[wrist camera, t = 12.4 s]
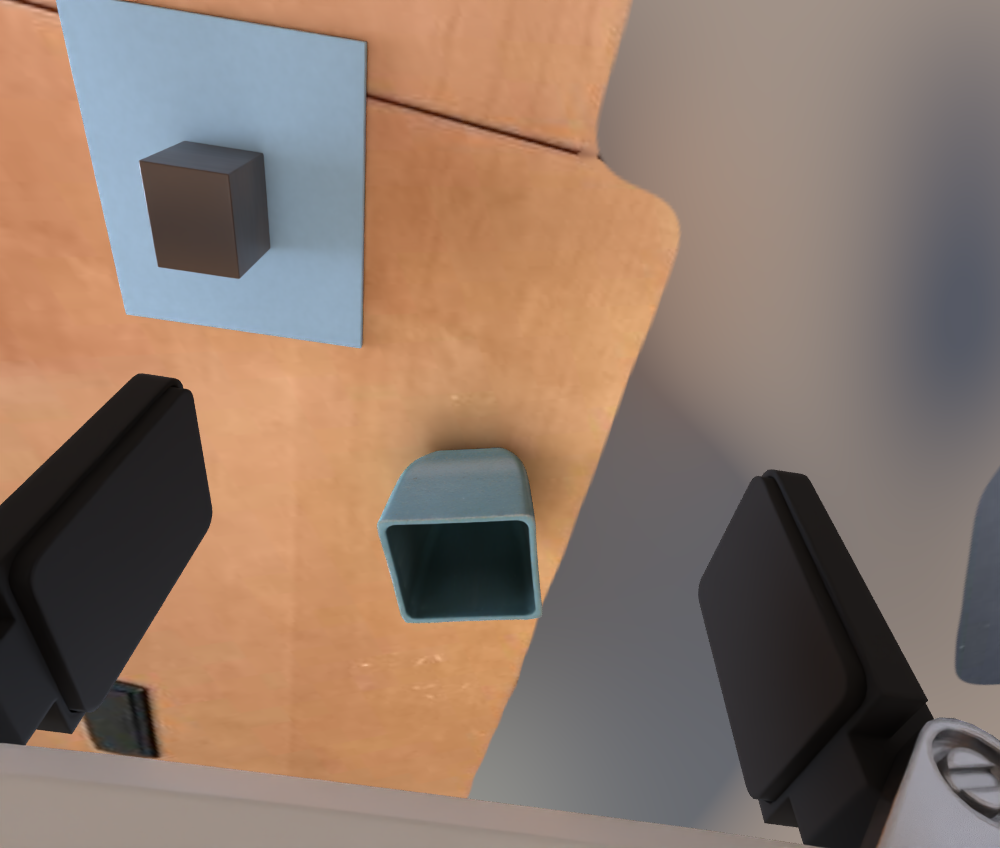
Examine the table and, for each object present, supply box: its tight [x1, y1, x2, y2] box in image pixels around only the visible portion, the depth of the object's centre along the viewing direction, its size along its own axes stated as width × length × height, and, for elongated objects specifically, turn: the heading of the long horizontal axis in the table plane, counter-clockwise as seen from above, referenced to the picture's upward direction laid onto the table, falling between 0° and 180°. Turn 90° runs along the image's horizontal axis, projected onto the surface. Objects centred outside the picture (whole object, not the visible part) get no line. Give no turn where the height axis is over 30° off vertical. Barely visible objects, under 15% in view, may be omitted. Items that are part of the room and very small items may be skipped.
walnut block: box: [139, 141, 270, 279], centre depth 31 cm, size 5×4×4 cm
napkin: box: [56, 0, 367, 348], centre depth 33 cm, size 16×14×1 cm
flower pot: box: [377, 448, 542, 623], centre depth 40 cm, size 9×9×9 cm
